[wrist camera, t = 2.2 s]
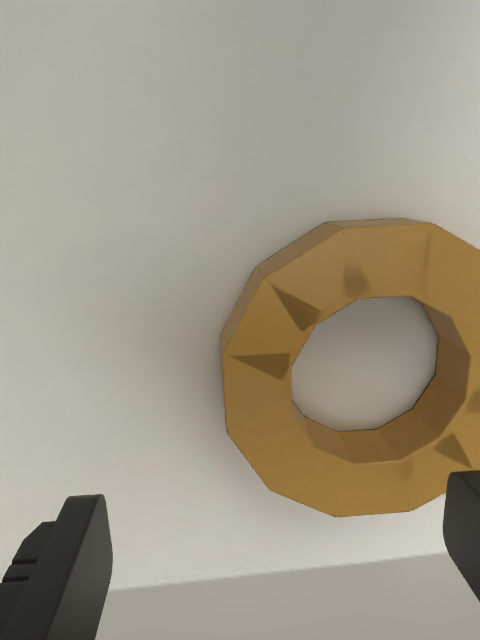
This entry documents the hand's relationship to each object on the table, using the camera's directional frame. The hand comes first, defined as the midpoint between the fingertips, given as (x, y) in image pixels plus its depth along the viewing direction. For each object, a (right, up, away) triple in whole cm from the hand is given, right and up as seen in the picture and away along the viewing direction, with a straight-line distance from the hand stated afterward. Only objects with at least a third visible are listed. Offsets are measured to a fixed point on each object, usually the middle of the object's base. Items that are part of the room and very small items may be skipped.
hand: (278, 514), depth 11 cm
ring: (+4, +3, +8) cm, 9 cm away
